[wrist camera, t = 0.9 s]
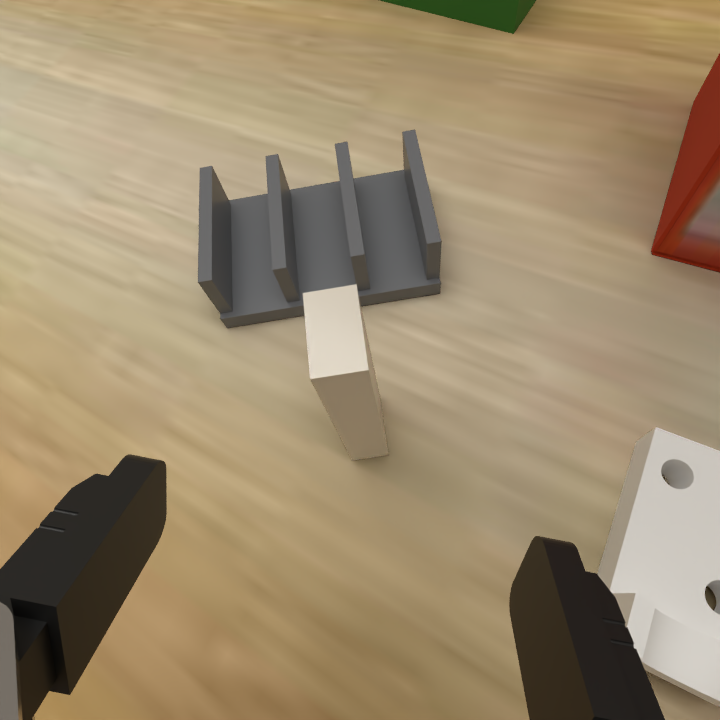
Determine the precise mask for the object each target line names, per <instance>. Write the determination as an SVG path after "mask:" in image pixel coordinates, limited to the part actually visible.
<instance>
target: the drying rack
mask: <svg viewBox="0 0 720 720" xmlns="http://www.w3.org/2000/svg"><path fill="white" fill-rule="evenodd" d="M402 134H403V157H404V170H400V171H394V172H389V173H383V174H377V175H372V176H366V177H360V178H354V179H353V173H352V167H351V161H350V155H349V149H348V143H347V142H343V143H337V144H335V149H336V156H337V163H338V170H339V177H340V181H337V182H332V183H326V184H320V185H315V186H309V187H303V188H297V189H292V190H290V189H289V186H288V183H287V180H286V177H285V174H284V171H283V168H282V165H281V162H280V159H279V156H278V154H276V155H270V156H266V170H267V187H268V194H263V195H257V196H252V197H246V198H240V199H235V200H228V198H227V196H226V194H225V192H224V190H223V188H222V185H221V183H220V181H219V179H218V177H217V175H216V173H215V171H214V169H213V167H212V166H209V167H203V168H200V189H199V253H198V283H199V284H200V286H201V287H202V289H203V290H204V291H205V293H206V294H207V296H208V297H209V298H210V300H211V301H212V303H213V304H214V305H215V307H216V308H217V310H218V311H219V312H220V319H221V321H222V322H223V323H224V325H225V326H226V327H227V328H231V327H237V326H243V325H249V324H255V323H261V322H268V321H274V320H280V319H286V318H292V317H298V316H304V315H305V314H304V302H303V293H306V292H312V291H318V290H325V289H331V288H337V287H343V286H349V285H355V284H357V289H358V294H359V299H360V303H361V306H366V305H372V304H378V303H384V302H390V301H396V300H402V299H409V298H415V297H421V296H427V295H433V294H439V293H440V285H441V282H440V278H439V276H440V257H441V238H440V234H439V229H438V225H437V221H436V217H435V212H434V208H433V204H432V200H431V195H430V191H429V187H428V183H427V178H426V174H425V170H424V166H423V161H422V157H421V153H420V149H419V144H418V140H417V136H416V132H415V130H410V131H405V132H402Z"/></svg>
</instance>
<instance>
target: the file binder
mask: <svg viewBox="0 0 720 720" xmlns="http://www.w3.org/2000/svg"><path fill="white" fill-rule="evenodd" d="M651 252H652V255H656V256H660V257H664V258H668V259H671V260H675V261H679V262H683V263H687V264H691V265H694V266H698V267H702V268H706V269H710V270H714V271H718V272H720V54H719V55H718V57H717V59H716V61H715V63H714V65H713V67H712V69H711V70H710V72H709V74H708V76H707V78H706V80H705V82H704V84H703V85H702V87H701V89H700V91H699V93H698V95H697V97H696V99H695V100H694V103H693V106H692V110H691V113H690V117H689V120H688V124H687V127H686V131H685V134H684V138H683V141H682V145H681V148H680V152H679V155H678V159H677V162H676V166H675V169H674V173H673V176H672V180H671V183H670V187H669V190H668V194H667V197H666V201H665V204H664V208H663V211H662V215H661V218H660V222H659V225H658V229H657V232H656V236H655V239H654V243H653V246H652V250H651Z"/></svg>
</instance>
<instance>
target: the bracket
mask: <svg viewBox="0 0 720 720" xmlns="http://www.w3.org/2000/svg"><path fill="white" fill-rule="evenodd" d="M662 475H664V476H665V477H666V479H667V480H668V482H669V485H668V484H667V483H666V482H665V480H664V479H663V477H662ZM597 575H598V576H599V577H600V578H601V580H602V581H603V582H604V583H605V585H606V586H607V587H608V589H609V590H610V591H611V592H612V594H613V595H614V596H615V598H616V600H617V602H618V605H619V607H620V610H621V612H622V615H623V617H624V620H625V622H626V623H625V627H628V630H629V632H630V635H631V637H632V640H633V642H634V648H635V649H637V652H638V654H639V657H640V659H641V662H642V664H643V667H644V669H645V670H646V671H648V672H650V673H652V674H654V675H656V676H658V677H660V678H662V679H664V680H666V681H668V682H670V683H672V684H674V685H676V686H678V687H680V688H682V689H684V690H686V691H688V692H690V693H692V694H694V695H696V696H698V697H700V698H702V699H704V700H706V701H708V702H710V703H712V704H714V705H716V706H719V707H720V451H719V450H716V449H713V448H711V447H708V446H705V445H703V444H700V443H697V442H695V441H692V440H689V439H687V438H684V437H681V436H679V435H676V434H673V433H671V432H668V431H665V430H663V429H660V428H657V427H655V428H654V429H652V430H651V431H650V432H648V433H647V434H646V435H644V436H643V437H642V438H640V439H639V440H637V441H636V444H635V447H634V450H633V454H632V457H631V461H630V464H629V467H628V471H627V474H626V478H625V481H624V484H623V488H622V491H621V495H620V498H619V501H618V505H617V508H616V512H615V515H614V518H613V522H612V525H611V529H610V532H609V535H608V539H607V542H606V546H605V549H604V552H603V556H602V559H601V563H600V566H599V569H598V573H597ZM706 586H708V587H709V588H710V589H711V590H712V591H713V593H714V595H715V597H716V607H715V609H714V611H713V610H712V609H711V608H710V607H709V605H708V604H707V602H706V599H705V588H706Z"/></svg>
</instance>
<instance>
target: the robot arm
mask: <svg viewBox="0 0 720 720" xmlns="http://www.w3.org/2000/svg"><path fill="white" fill-rule="evenodd" d="M165 521H166V464H165V462H164V461H161V460H156V459H151V458H146V457H140V456H135V455H126V456H125V457H124V458H123V459H122V460H121V461H120V463H119V464H118V465H117V466H116V468H115V469H114V470H113V471H112V473H111V474H110V475H109V476H106V475H101V474H94V475H93V476H91V477H89V478H88V479H86V480H85V481H83V482H81V483H80V484H78V485H76V486H75V487H73V488H71V490H70V491H69V492H68V493H67V494H66V495H65V496H64V497H63V499H62V500H61V501H60V502H59V503H58V504H57V505H56V507H55V508H54V511H53V512H50V513H49V514H48V516H47V517H46V518H45V519H44V520H43V521H42V522H41V524H40V527H39V528H36V529H35V530H34V532H33V533H32V534H31V535H30V536H29V537H28V538H27V539H26V541H25V542H24V543H23V544H22V545H21V546H20V547H19V549H18V550H17V551H16V552H15V553H14V554H13V555H12V556H11V558H10V559H9V560H8V561H7V562H6V563H5V564H4V566H3V567H2V568H1V569H0V720H35V717H34V714H35V713H36V711H37V709H38V708H39V706H40V705H41V703H42V701H43V700H44V698H45V697H46V695H47V693H48V692H49V691H53V692H58V693H63V694H68V695H70V694H71V692H72V691H73V689H74V687H75V685H76V684H77V682H78V680H79V679H80V677H81V675H82V673H83V672H84V670H85V668H86V666H87V665H88V663H89V661H90V659H91V658H92V656H93V654H94V653H95V651H96V649H97V647H98V646H99V644H100V642H101V640H102V639H103V637H104V635H105V634H106V632H107V630H108V628H109V627H110V625H111V623H112V621H113V620H114V618H115V616H116V614H117V613H118V611H119V609H120V608H121V606H122V604H123V602H124V601H125V599H126V597H127V595H128V594H129V592H130V590H131V589H132V587H133V585H134V583H135V582H136V580H137V578H138V576H139V575H140V573H141V571H142V569H143V568H144V566H145V564H146V563H147V561H148V559H149V557H150V556H151V554H152V552H153V550H154V549H155V547H156V545H157V543H158V542H159V539H160V537H161V535H162V532H163V529H164V525H165ZM509 606H510V617H511V622H512V627H513V633H514V638H515V643H516V649H517V654H518V659H519V665H520V670H521V675H522V681H523V686H524V692H525V697H526V702H527V708H528V713H529V718H530V720H665V719H664V716H663V714H662V711H661V709H660V706H659V704H658V701H657V699H656V696H655V694H654V691H653V689H652V686H651V684H650V682H649V679H648V677H647V674H646V672H645V669H644V667H643V664H642V662H641V659H640V657H639V654H638V652H637V649H635V648H634V642H633V640H632V637H631V635H630V632H629V630H628V627H625V623H626V622H625V620H624V617H623V615H622V612H621V610H620V607H619V605H618V602H617V600H616V598H615V596H614V595H613V594H612V592H611V591H610V590H609V589H608V587H607V586H606V585H605V583H604V582H603V581H602V580H601V578H600V577H599V576H598V575H597V574H596V573H590V572H585V569H584V566H583V563H582V561H581V558H580V555H579V552H578V550H577V548H576V546H575V545H574V544H573V543H571V542H566V541H561V540H556V539H550V538H545V537H540V536H536V537H534V538H533V540H532V541H531V544H530V546H529V548H528V550H527V552H526V555H525V557H524V559H523V561H522V564H521V566H520V568H519V570H518V572H517V575H516V577H515V579H514V581H513V584H512V587H511V592H510V603H509Z"/></svg>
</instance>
